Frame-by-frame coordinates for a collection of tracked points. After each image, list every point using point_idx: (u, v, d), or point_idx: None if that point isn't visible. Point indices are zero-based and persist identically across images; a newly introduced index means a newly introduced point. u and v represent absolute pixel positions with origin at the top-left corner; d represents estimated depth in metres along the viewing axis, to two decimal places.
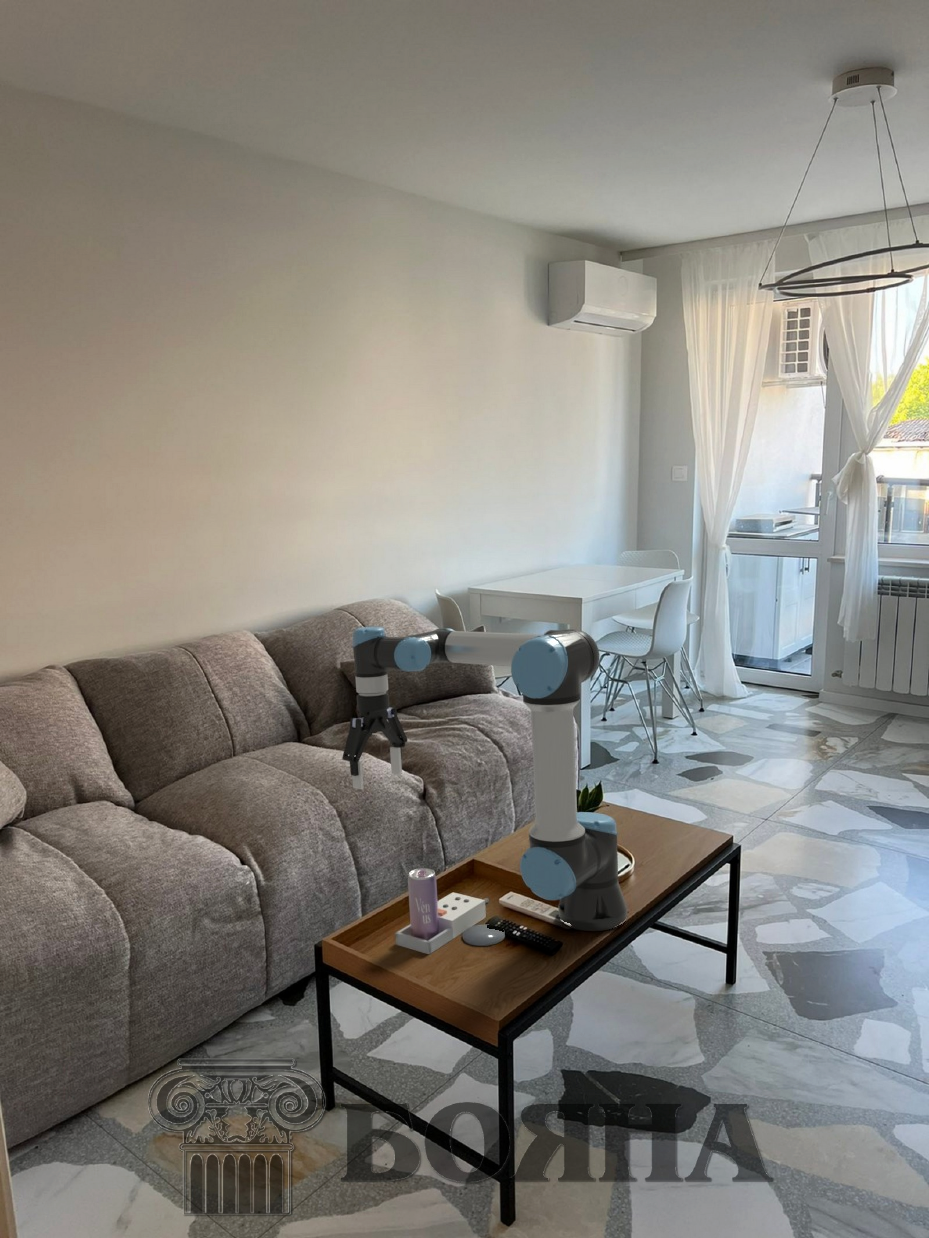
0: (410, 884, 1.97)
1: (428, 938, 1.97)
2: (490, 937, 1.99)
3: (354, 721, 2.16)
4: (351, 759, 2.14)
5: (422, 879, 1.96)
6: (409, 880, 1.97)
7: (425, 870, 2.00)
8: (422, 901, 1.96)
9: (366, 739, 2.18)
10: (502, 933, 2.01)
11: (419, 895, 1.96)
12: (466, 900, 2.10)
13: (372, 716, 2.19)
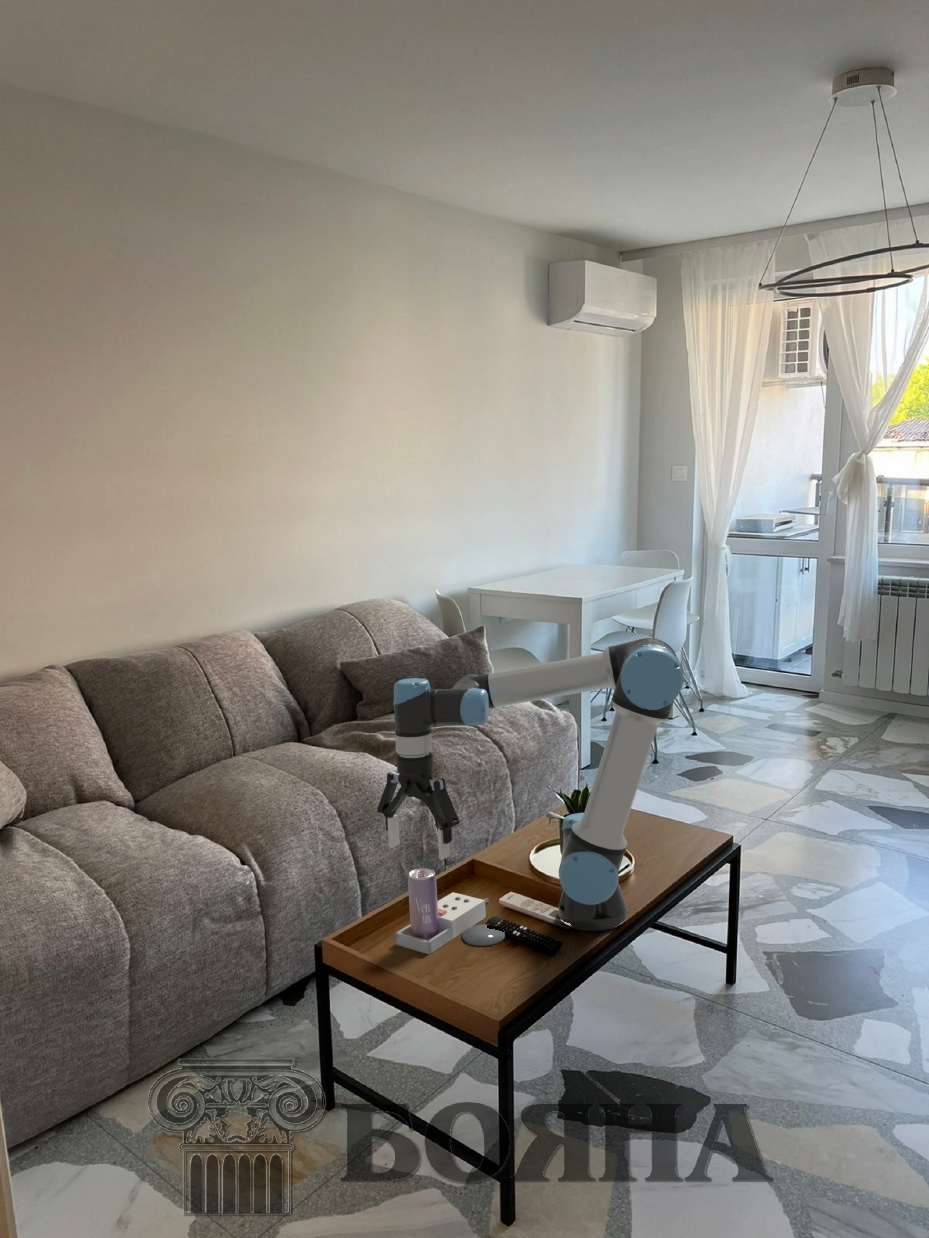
0: (410, 884, 1.97)
1: (428, 938, 1.97)
2: (490, 937, 1.99)
3: None
4: (378, 810, 2.02)
5: (422, 879, 1.96)
6: (409, 880, 1.97)
7: (425, 870, 2.00)
8: (422, 901, 1.96)
9: (397, 798, 1.98)
10: (502, 933, 2.01)
11: (419, 895, 1.96)
12: (466, 900, 2.10)
13: (406, 777, 1.96)
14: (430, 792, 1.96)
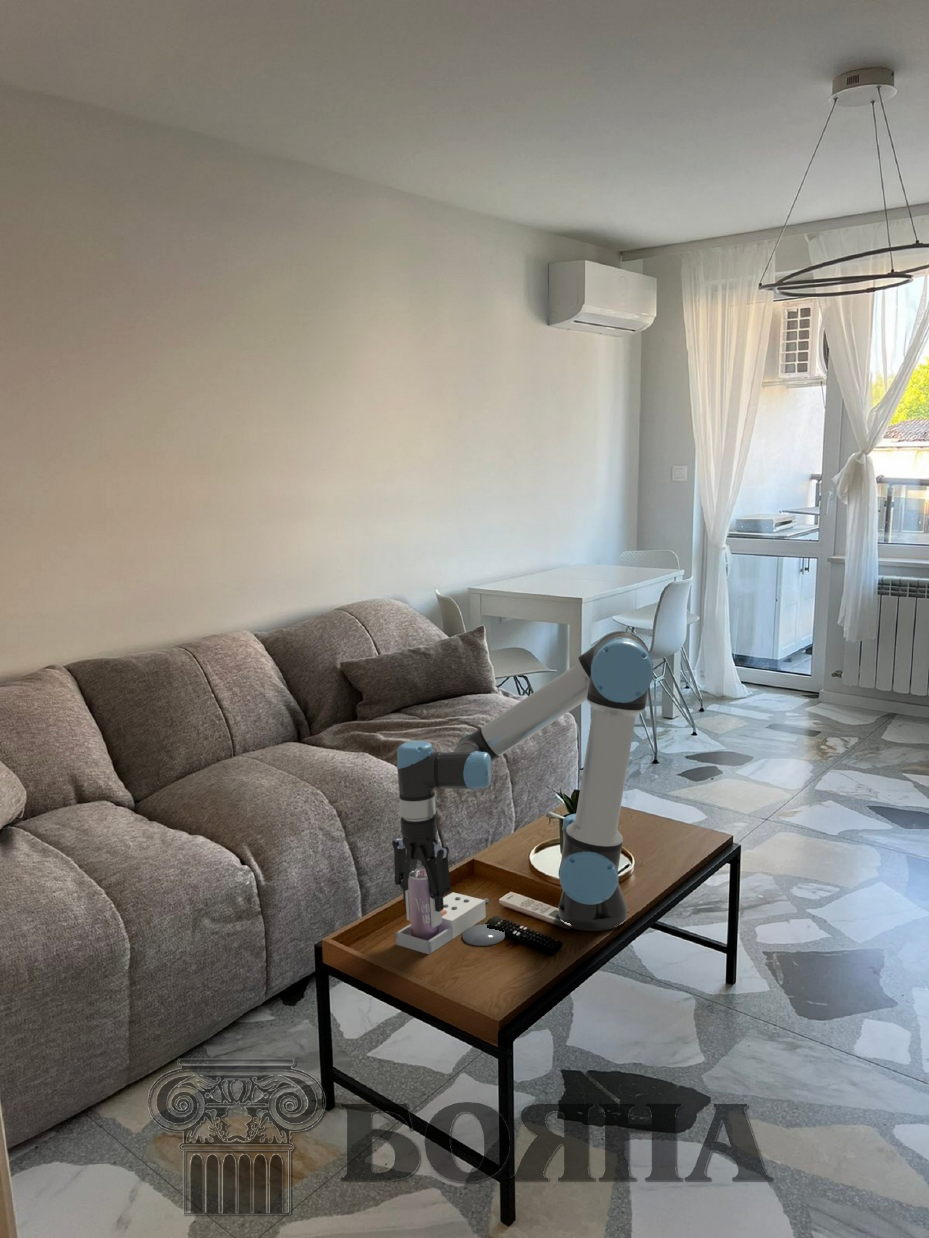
0: (410, 884, 1.97)
1: (428, 938, 1.97)
2: (490, 937, 1.99)
3: None
4: (396, 883, 2.02)
5: (422, 879, 1.96)
6: (409, 880, 1.97)
7: (425, 870, 2.00)
8: (422, 901, 1.96)
9: (408, 865, 1.99)
10: (502, 933, 2.01)
11: (419, 895, 1.96)
12: (466, 900, 2.10)
13: (408, 837, 1.98)
14: None
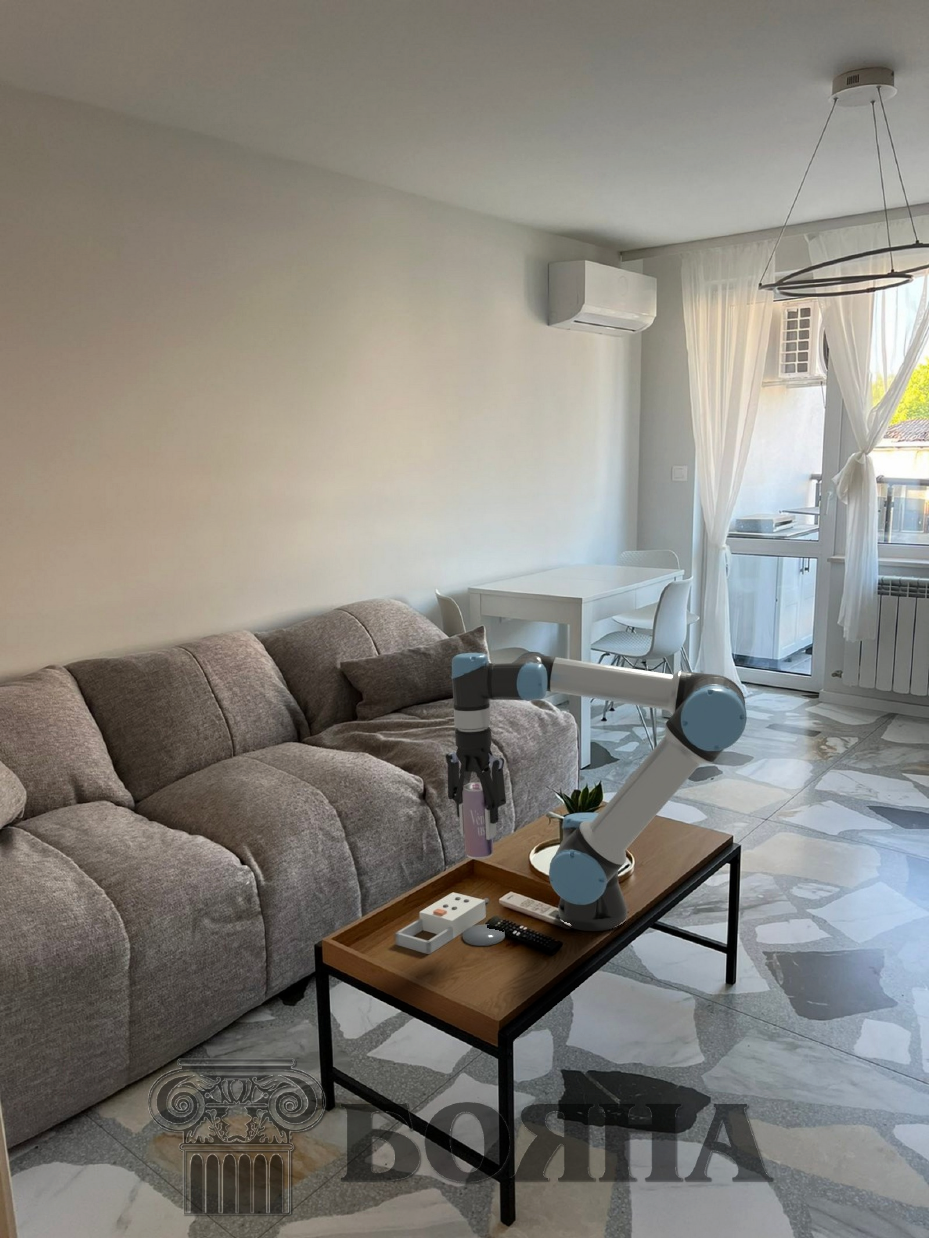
0: (465, 796, 1.96)
1: (483, 850, 1.96)
2: (490, 937, 1.99)
3: None
4: (449, 797, 2.00)
5: (477, 790, 1.95)
6: (464, 792, 1.96)
7: (479, 783, 1.99)
8: (477, 813, 1.95)
9: (462, 778, 1.98)
10: (502, 933, 2.01)
11: (474, 807, 1.95)
12: (466, 900, 2.10)
13: (463, 749, 1.97)
14: (485, 768, 1.97)
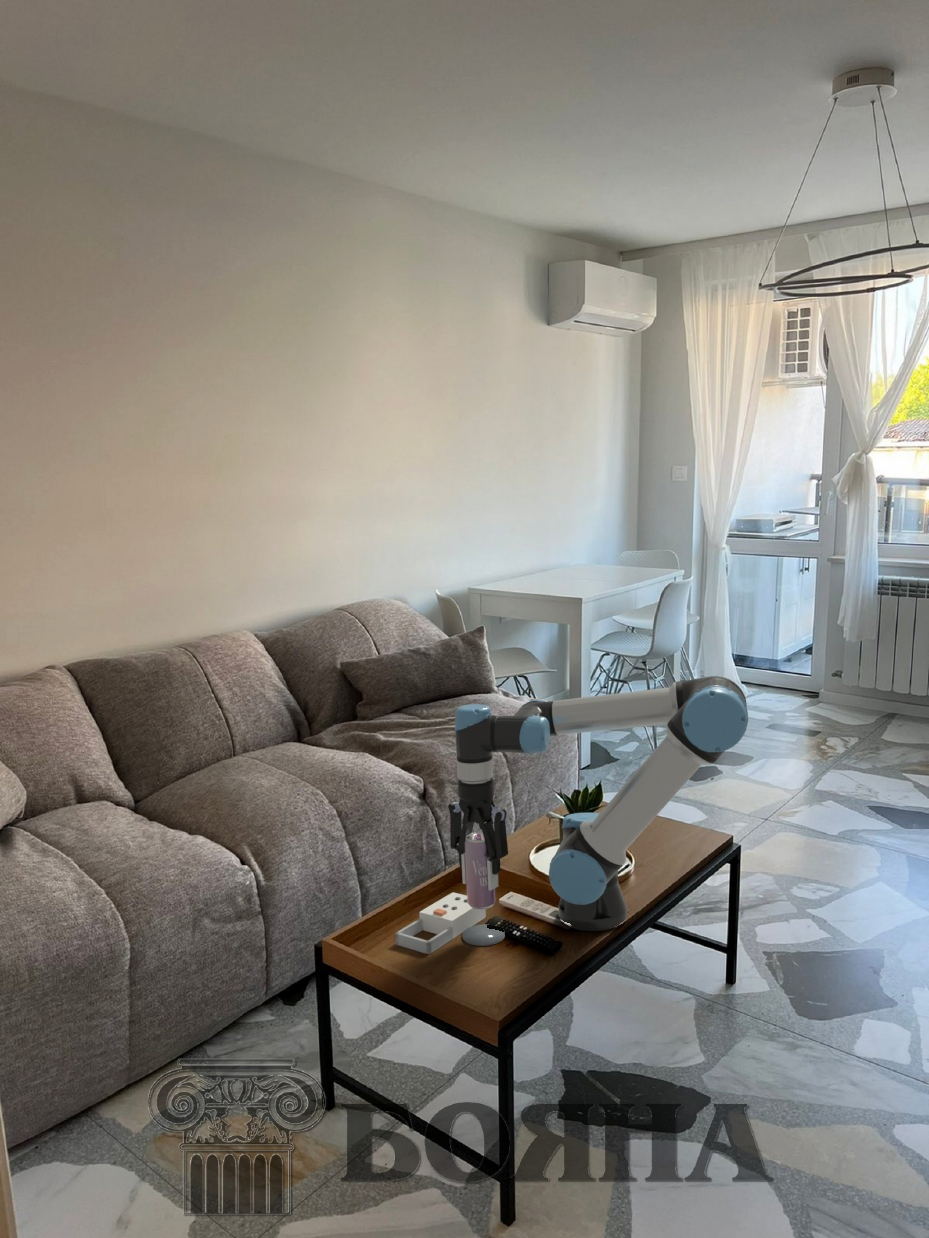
0: (467, 847, 1.97)
1: (485, 901, 1.97)
2: (490, 937, 1.99)
3: None
4: (451, 846, 2.02)
5: (479, 842, 1.96)
6: (466, 843, 1.97)
7: (481, 833, 2.00)
8: (479, 864, 1.96)
9: (464, 829, 1.99)
10: (502, 933, 2.01)
11: (476, 858, 1.96)
12: (466, 900, 2.10)
13: (465, 800, 1.98)
14: None
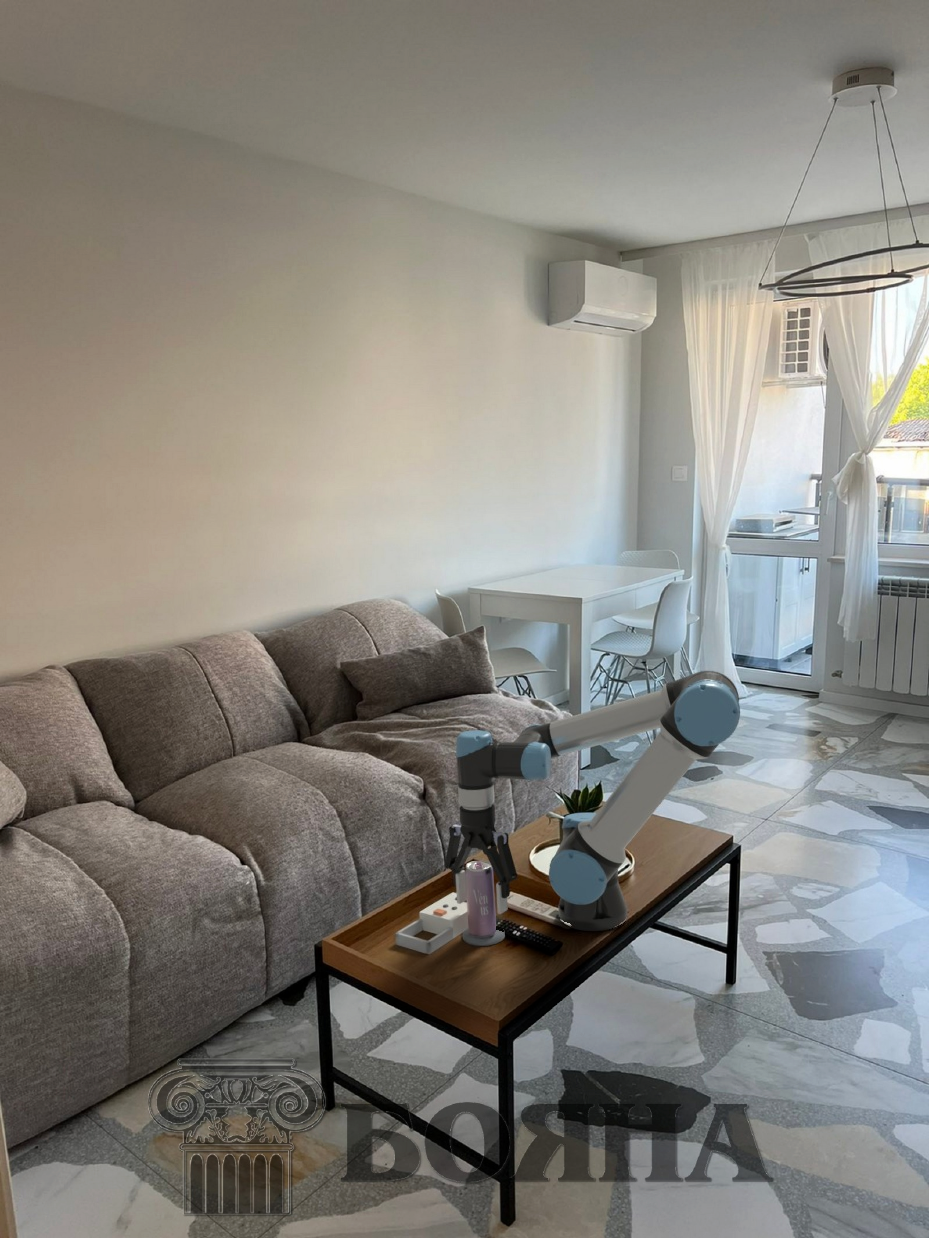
0: (468, 876, 1.98)
1: (486, 930, 1.98)
2: (490, 937, 1.99)
3: None
4: (446, 866, 2.03)
5: (480, 871, 1.97)
6: (466, 872, 1.98)
7: (481, 862, 2.02)
8: (479, 893, 1.97)
9: (462, 852, 2.00)
10: (502, 933, 2.01)
11: (477, 887, 1.97)
12: (466, 900, 2.10)
13: (468, 827, 1.99)
14: (491, 844, 1.98)
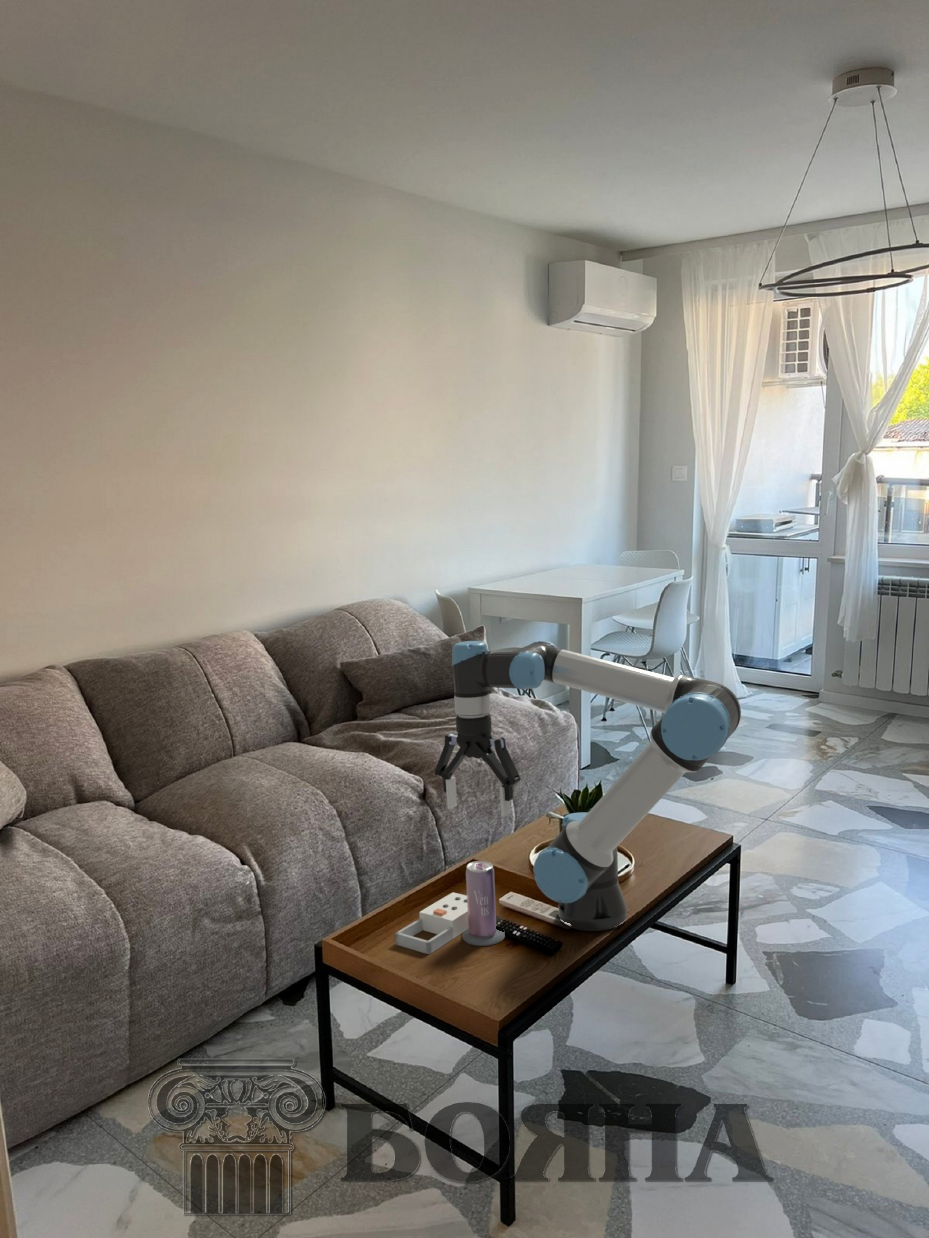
0: (469, 876, 1.98)
1: (486, 930, 1.98)
2: (490, 937, 1.99)
3: None
4: (435, 773, 2.06)
5: (481, 872, 1.97)
6: (467, 872, 1.98)
7: (482, 863, 2.01)
8: (480, 894, 1.97)
9: (455, 760, 2.02)
10: (502, 933, 2.01)
11: (478, 888, 1.97)
12: (466, 900, 2.10)
13: (465, 738, 2.00)
14: (489, 752, 2.00)
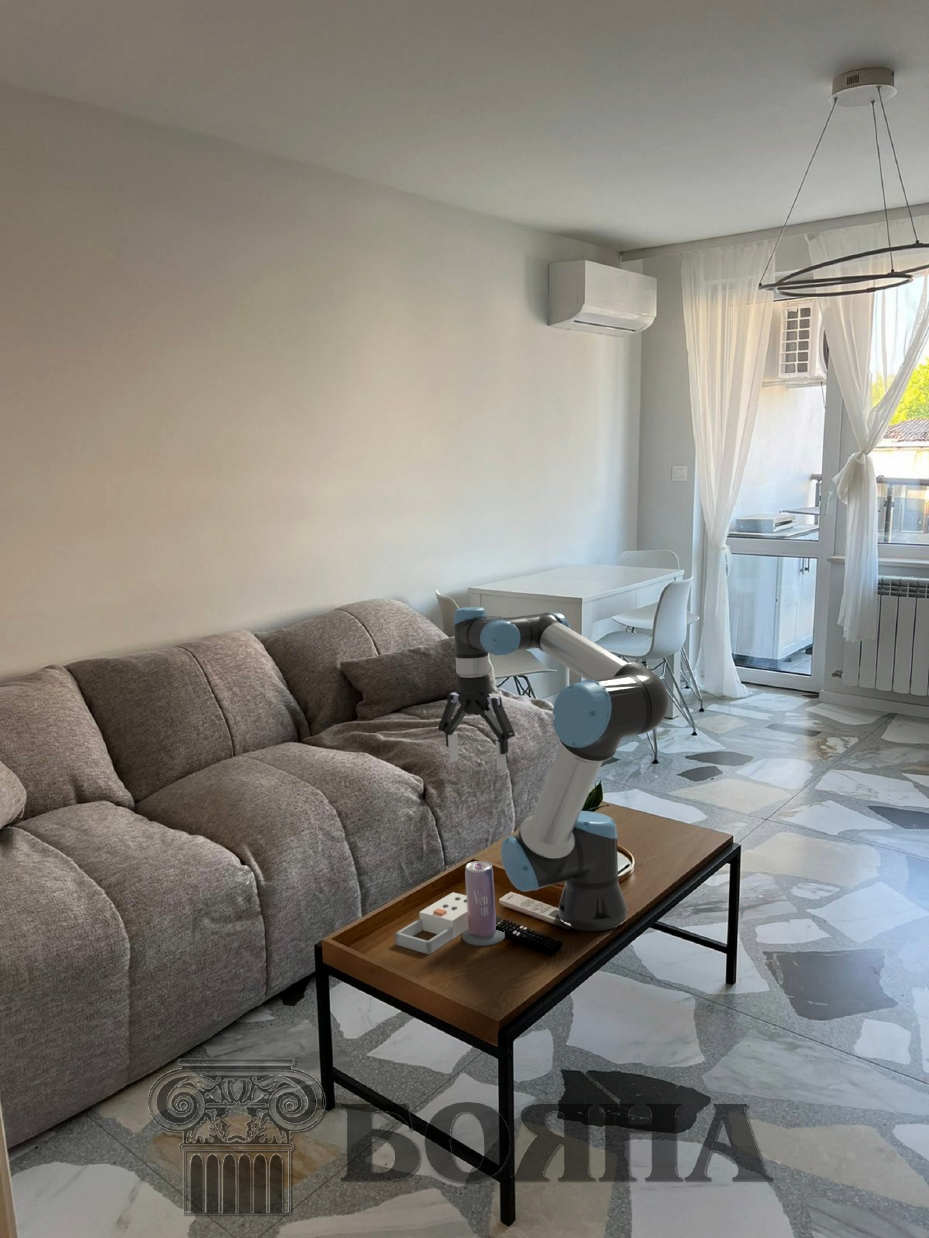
0: (468, 877, 1.98)
1: (486, 930, 1.98)
2: (490, 937, 1.99)
3: None
4: (439, 728, 2.23)
5: (480, 871, 1.97)
6: (467, 873, 1.98)
7: (481, 863, 2.01)
8: (480, 893, 1.97)
9: (457, 716, 2.20)
10: (502, 933, 2.01)
11: (477, 888, 1.97)
12: (466, 900, 2.10)
13: (465, 696, 2.18)
14: (487, 709, 2.17)
